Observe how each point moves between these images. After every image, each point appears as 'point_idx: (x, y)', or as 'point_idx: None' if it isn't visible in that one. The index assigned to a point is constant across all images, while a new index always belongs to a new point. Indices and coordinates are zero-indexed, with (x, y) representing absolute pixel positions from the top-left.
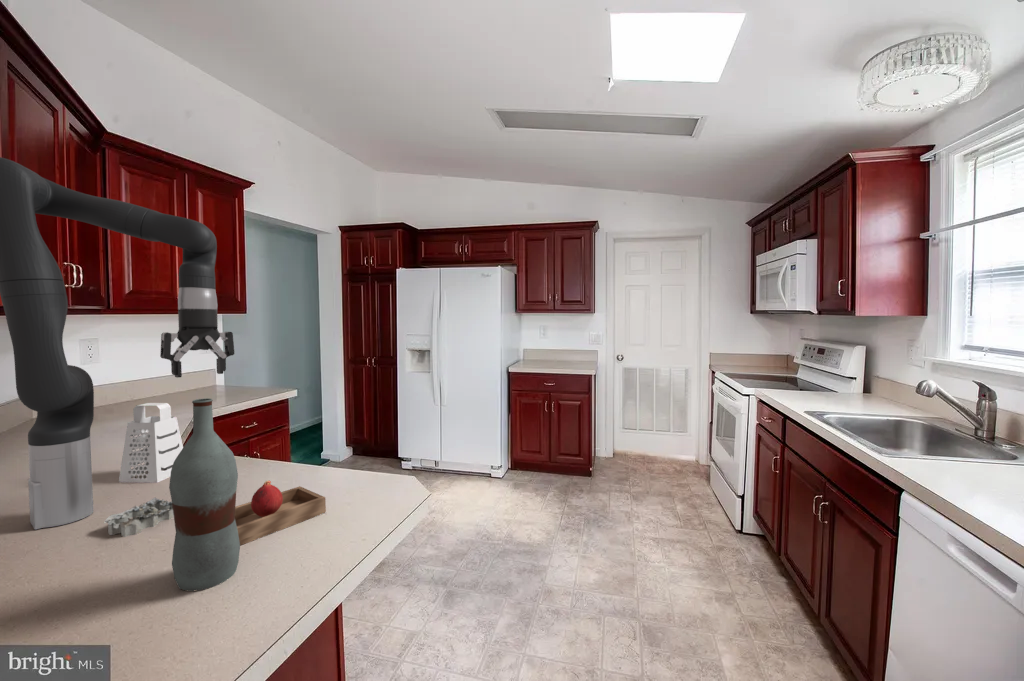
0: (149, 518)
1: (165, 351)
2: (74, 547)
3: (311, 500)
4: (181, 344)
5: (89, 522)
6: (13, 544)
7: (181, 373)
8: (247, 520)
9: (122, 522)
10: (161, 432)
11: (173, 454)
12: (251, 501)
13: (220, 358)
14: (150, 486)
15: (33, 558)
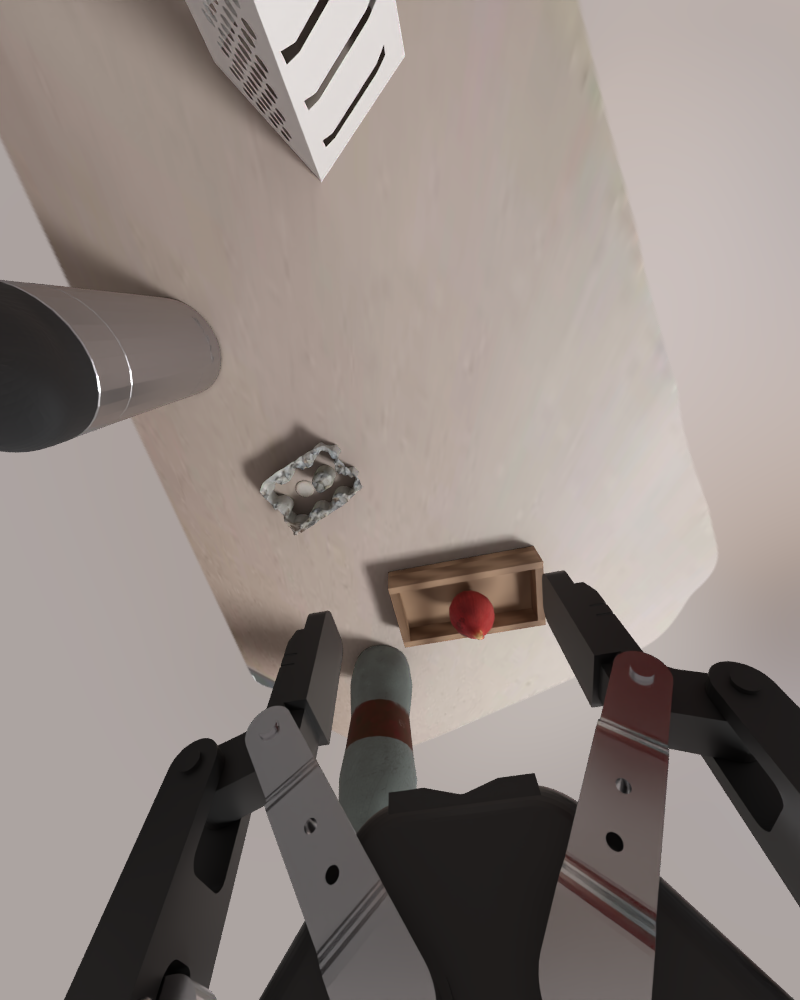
0: (322, 506)
1: (203, 866)
2: (238, 508)
3: (525, 623)
4: (301, 890)
5: (230, 410)
6: (144, 435)
7: (340, 666)
8: (442, 585)
9: (287, 521)
10: (297, 13)
11: (357, 58)
12: (450, 616)
13: (603, 700)
14: (307, 215)
15: (198, 511)
